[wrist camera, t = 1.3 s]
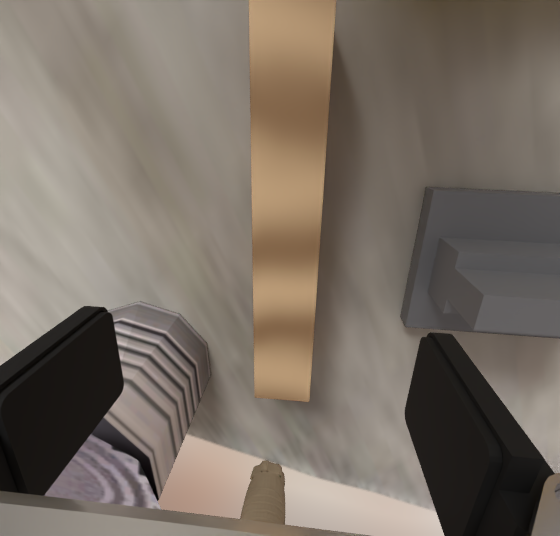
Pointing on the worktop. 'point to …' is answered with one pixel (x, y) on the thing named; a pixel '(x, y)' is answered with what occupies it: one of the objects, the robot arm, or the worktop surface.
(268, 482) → the handle
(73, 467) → the can
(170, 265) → the worktop surface
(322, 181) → the oak batten
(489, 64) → the worktop surface
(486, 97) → the worktop surface
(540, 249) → the fulcrum stand
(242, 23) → the worktop surface
